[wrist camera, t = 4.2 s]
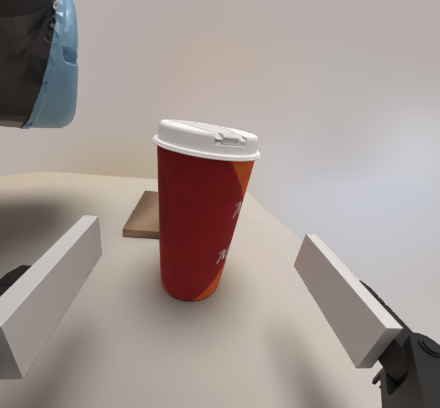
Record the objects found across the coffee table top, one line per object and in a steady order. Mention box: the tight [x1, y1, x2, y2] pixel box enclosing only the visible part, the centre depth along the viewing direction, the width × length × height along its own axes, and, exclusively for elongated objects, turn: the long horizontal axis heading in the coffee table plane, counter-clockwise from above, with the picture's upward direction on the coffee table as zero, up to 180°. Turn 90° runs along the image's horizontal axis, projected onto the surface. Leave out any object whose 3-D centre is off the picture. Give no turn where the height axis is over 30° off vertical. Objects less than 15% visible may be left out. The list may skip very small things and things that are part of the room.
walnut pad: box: [123, 191, 159, 239], centre depth 31 cm, size 12×12×1 cm
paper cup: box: [152, 120, 260, 301], centre depth 17 cm, size 8×8×14 cm
